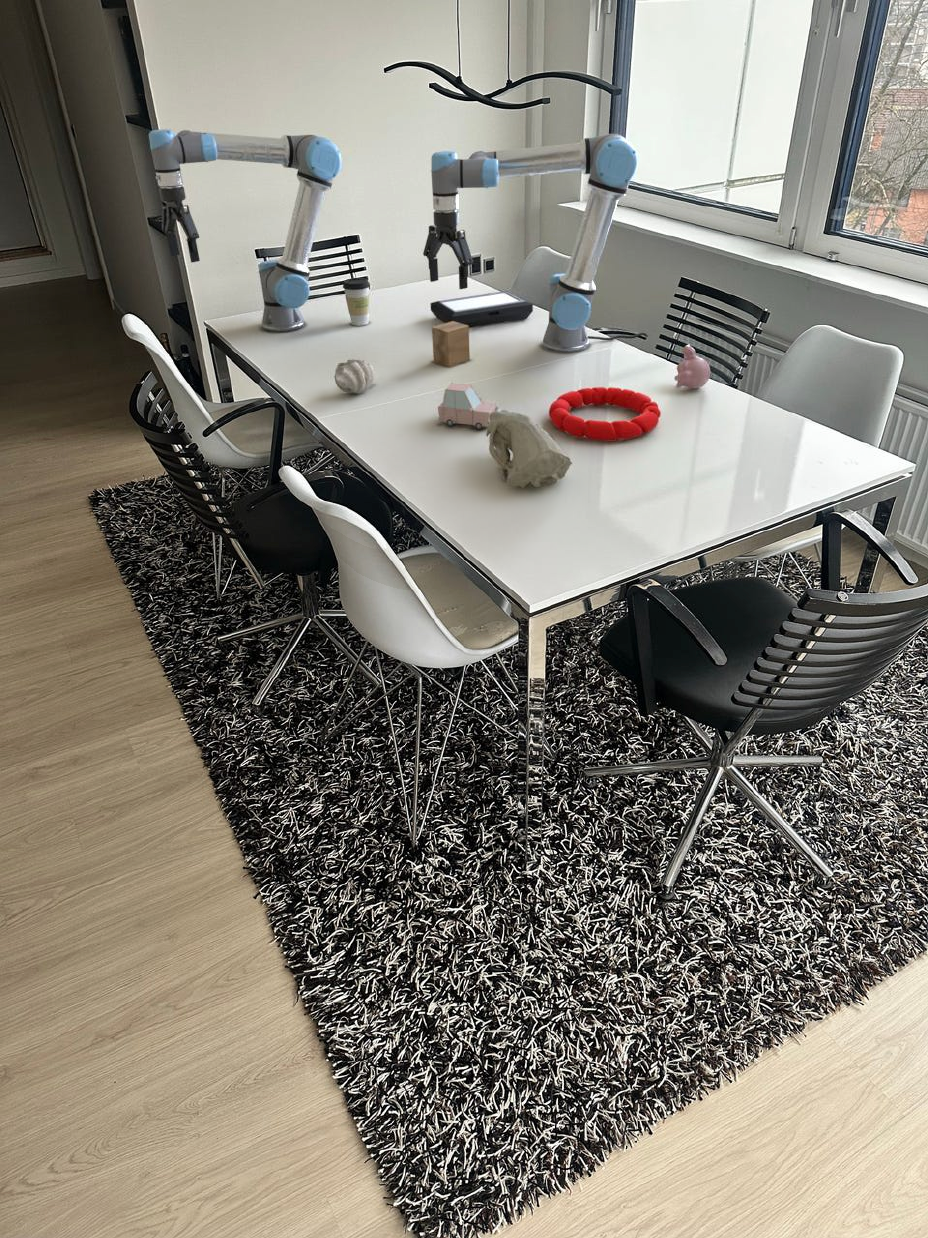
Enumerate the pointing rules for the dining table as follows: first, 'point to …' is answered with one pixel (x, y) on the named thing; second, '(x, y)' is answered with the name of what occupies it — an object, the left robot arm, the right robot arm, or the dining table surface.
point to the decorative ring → (604, 428)
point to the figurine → (692, 370)
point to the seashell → (354, 376)
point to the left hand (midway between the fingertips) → (185, 258)
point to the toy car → (465, 406)
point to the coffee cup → (357, 300)
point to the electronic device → (482, 309)
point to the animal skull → (525, 450)
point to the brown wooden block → (450, 343)
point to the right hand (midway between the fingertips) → (448, 284)
